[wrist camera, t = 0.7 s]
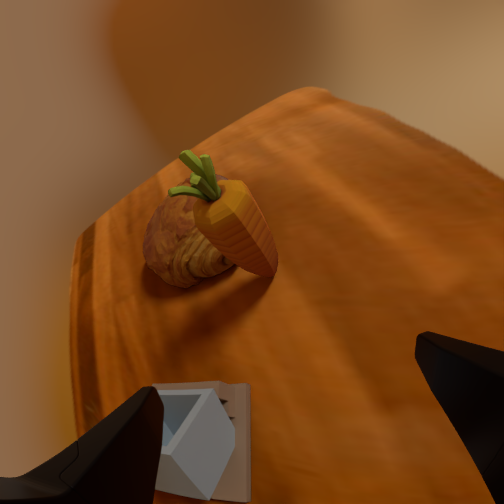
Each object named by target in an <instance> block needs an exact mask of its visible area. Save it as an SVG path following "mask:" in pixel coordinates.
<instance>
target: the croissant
mask: <svg viewBox="0 0 504 504" xmlns="http://www.w3.org/2000/svg"><path fill="white" fill-rule="evenodd" d="M215 175H216V174H215ZM190 180H191V179H190V178H188V179H186V180H185V181H183V182H181V183H179V184H178V185H177V186H188V187H191V183H190ZM216 180H217V182H218V181H220V180H228V179H227V178H225V177H223V176H220V175H216ZM177 186H176V187H177ZM192 188H193V187H192ZM197 199H198V198H197V197H194V196H187V195H179V196H174V197H170V196H169V195H168V196H167V197H166V198H165V199H164V201H163V202H162V203H161V204H160V205H159V206H158V208H157V209H156V211H155V213H154V215H153V216H152V218H151V220H150V221H149V223H148V226H147V230H146V233H145V236H144V243H143V254H144V257H145V260H146V262H147V266H148V268H149V269H152V270H154V272H155V274H157V275H159V276H160V277H161V278H162V279H163V280H164V281H165V282H166V283H168V284H170V285H173V286H178V287H183V288H188V287H190V286H192V285H198V283H199V282H201V281H202V279H203V277H213V276H214V275H216V274H220V273H222V272H223V271H224V270H227V269H228V268H230V267H231V266H232V265H233V264H235V263H233V262H232V261H230V260H229V259H228V258H226V257H225V256H224V255H223V254H222V253H221V252H220V251H218V250H217V249H216V248H215V247H214V246H213V245H212V244H211V243H210V242H209V241H208V239H207V238H206V237H205V236H204V235H203V234H202V233H201V232H200V231H199V230H198V228H197V227H196V225H195V221H194V214H193V205H194V203H195V202H196V200H197Z"/></svg>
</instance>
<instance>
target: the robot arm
mask: <svg viewBox="0 0 504 504" xmlns="http://www.w3.org/2000/svg"><path fill="white" fill-rule="evenodd" d="M415 359H416V361H417V363H418V365H419V367H420V369H421V371H422V373H423V375H424V377H425V379H426V381H427V383H428V385H429V387H430V389H431V391H432V392H433V394H434V396H435V397H436V399H437V400H438V402H439V404H440V405H441V407H442V408H443V410H444V412H445V413H446V415H447V416H448V418H449V420H450V421H451V423H452V425H453V426H454V428H455V430H456V431H457V433H458V435H459V436H460V438H461V440H462V441H463V443H464V445H465V447H466V448H467V450H468V452H469V454H470V455H471V457H472V459H473V461H474V463H475V464H476V466H477V468H478V470H479V472H480V474H481V475H483V476H482V478H483V480H484V481H485V483H486V485H487V487H488V489H489V491H490V493H491V495H492V497H493V499H494V501H495V503H496V504H504V351H500V350H496V349H492V348H488V347H484V346H481V345H477V344H473V343H469V342H466V341H462V340H458V339H455V338H451V337H447V336H444V335H440V334H436V333H433V332H429V331H426V332H423V333H420V334H419V335H418V336H417V339H416V347H415ZM163 422H164V405H163V402H162V400H161V398H160V396H159V393H158V391H157V389H156V388H155V387H153V386H148V387H142V388H141V389H140V390H139V391H137V392H136V393H135V394H134V395H133V396H131V397H130V398H129V399H128V400H126V401H125V402H124V403H123V404H121V405H120V406H119V407H118V408H117V409H115V410H114V411H113V412H112V413H110V414H109V415H108V416H107V417H105V418H104V419H103V420H102V421H100V422H99V423H98V424H97V425H95V426H94V427H93V428H91V429H90V430H89V431H88V432H86V433H85V434H84V435H83V436H81V437H80V438H79V439H78V441H77V440H76V441H75V442H74V443H72V444H71V445H70V446H69V447H67V448H66V449H64V450H63V451H62V452H60V453H59V454H57V455H55V456H54V457H52V458H51V459H49V460H48V461H46V462H45V463H43V464H41V465H40V466H38V467H36V468H34V469H33V470H31V471H29V472H28V473H26V474H24V475H22V476H19V477H13V478H5V477H0V504H153V498H154V492H155V485H156V479H157V473H158V467H159V461H160V456H161V450H162V440H163Z"/></svg>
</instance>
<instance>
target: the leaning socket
mask: <svg viewBox="0 0 504 504" xmlns="http://www.w3.org/2000/svg"><path fill="white" fill-rule="evenodd" d="M152 386H153V387H155V388H156V389H157V391H158V393H159V396H160V398H161V400H162V402H163V405H164V422H163V440H162V450H161V456H160V461H159V467H158V473H157V479H156V485H155V489H156V490H160V491H164V492H168V493H172V494H176V495H181V496H186V497H191V498H197V499H202V500H210V498H211V499H218V500H226V501H235V502H246V503H247V502H250V501H251V439H250V384H247V383H240V384H229V385H228V384H226V383H223V382H221V381H209V382H193V383H169V384H152Z"/></svg>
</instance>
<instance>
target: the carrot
mask: <svg viewBox="0 0 504 504" xmlns="http://www.w3.org/2000/svg"><path fill="white" fill-rule="evenodd" d="M179 159H180V160H181V161H182V162H183V163H184V164H185V165H187V166H188V167H189V168H190V169H191V170H192V171H193V172H194V173H191V175H190V179H191V180H190V183H191V187H188V186H177V187H174V188H171V189H169V190H168V194H169V196H170V197H174V196H179V195H187V196H194V197H197V198H198V199H197V200H196V202H195V203H194V205H193V214H194V221H195V225H196V227H197V228H198V230H199V231H200V232H201V233H202V234H203V235H204V236H205V237H206V238H207V239H208V241H209V242H210V243H211V244H212V245H213V246H214V247H215V248H216V249H217V250H218V251H220V252H221V253H222V254H223V255H224V256H225V257H226V258H228V259H229V260H230V261H232V262H233V263H235V264H236V265H238V266H239V267H241V268H242V269H244V270H246V271H248V272H251V273H254V274H257V275H261V276H265V277H272V276H274V275H275V273H276V271H277V266H278V253H277V249H276V246H275V243H274V240H273V237H272V234H271V232H270V229H269V227H268V225H267V222H266V220H265V218H264V216H263V214H262V212H261V210H260V208H259V207H258V205H257V203H256V201H255V199H254V198H253V196H252V194H251V193H250V191H249V189H248V187H247V186H246V185H245V183H243V182H242V181H241V180H220V181H218V182H217V180H216V175H215V170H214V167H213V164H212V161H211V158H210V156H209V155H205V154H203V155H201V156H200V159H201V161H200V159H199V158H198V157H197V156H196V155H195V154H193V153H192V152H191V151H190V150H186V151H182V152H181V154H180V156H179ZM192 187H193V188H192Z"/></svg>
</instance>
